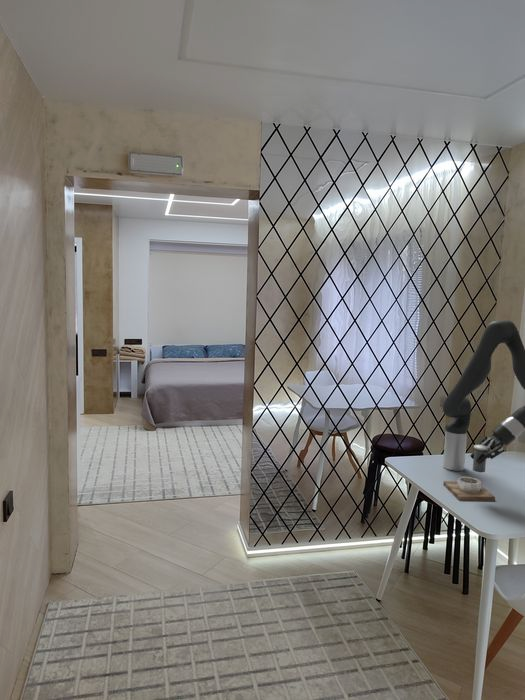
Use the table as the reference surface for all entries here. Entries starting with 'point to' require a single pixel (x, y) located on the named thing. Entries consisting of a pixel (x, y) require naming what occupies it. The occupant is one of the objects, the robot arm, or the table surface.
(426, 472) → the table surface
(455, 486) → the mount board
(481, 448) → the white capped grey cylinder
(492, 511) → the table surface
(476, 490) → the faceted white ring
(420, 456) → the table surface
